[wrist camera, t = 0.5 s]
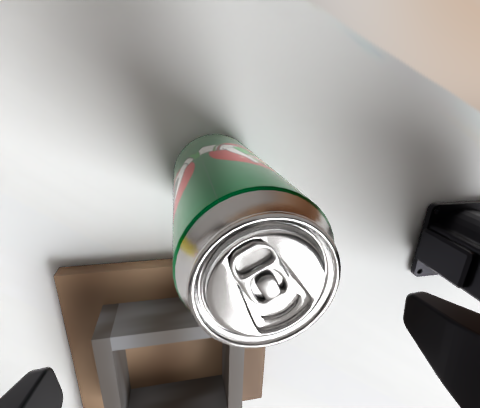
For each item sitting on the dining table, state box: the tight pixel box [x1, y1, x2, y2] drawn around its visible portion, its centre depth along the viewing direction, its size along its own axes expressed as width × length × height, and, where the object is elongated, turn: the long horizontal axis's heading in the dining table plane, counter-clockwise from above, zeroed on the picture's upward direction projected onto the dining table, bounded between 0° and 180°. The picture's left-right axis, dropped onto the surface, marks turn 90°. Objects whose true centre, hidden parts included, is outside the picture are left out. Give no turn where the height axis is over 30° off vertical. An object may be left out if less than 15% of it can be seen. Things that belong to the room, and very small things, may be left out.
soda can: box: [172, 134, 341, 348], centre depth 13 cm, size 5×5×12 cm
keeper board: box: [54, 259, 265, 408], centre depth 21 cm, size 14×14×4 cm
